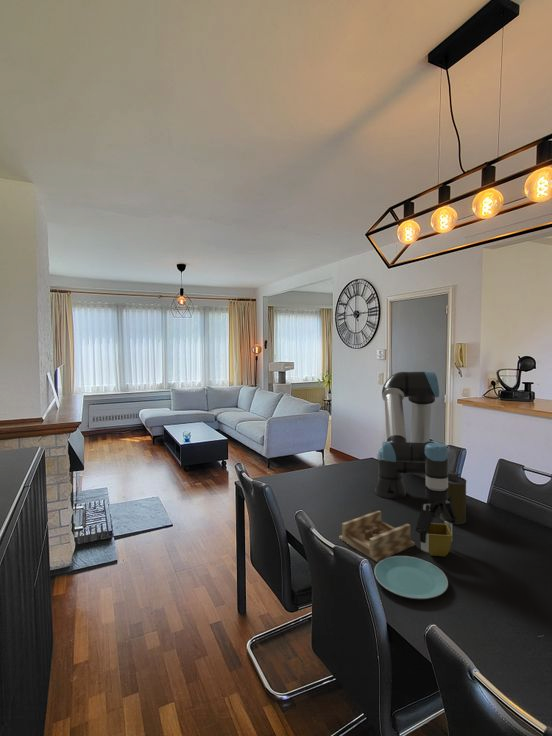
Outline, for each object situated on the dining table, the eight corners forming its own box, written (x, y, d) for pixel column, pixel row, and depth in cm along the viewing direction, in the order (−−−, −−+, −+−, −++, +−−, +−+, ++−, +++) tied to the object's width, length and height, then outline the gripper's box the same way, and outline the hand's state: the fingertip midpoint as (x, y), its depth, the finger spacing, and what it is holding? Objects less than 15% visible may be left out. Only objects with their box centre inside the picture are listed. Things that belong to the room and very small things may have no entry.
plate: (441, 616, 108) (441, 606, 108) (364, 591, 120) (364, 582, 120) (453, 575, 127) (452, 566, 127) (385, 557, 139) (385, 549, 139)
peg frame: (375, 524, 163) (374, 508, 162) (414, 545, 146) (414, 527, 146) (338, 538, 152) (338, 521, 152) (377, 562, 135) (376, 542, 135)
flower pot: (452, 560, 135) (452, 535, 134) (426, 558, 137) (426, 533, 136) (446, 547, 144) (446, 524, 143) (422, 545, 145) (421, 522, 145)
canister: (469, 518, 167) (469, 472, 165) (461, 526, 159) (461, 479, 158) (443, 511, 174) (443, 467, 173) (435, 519, 166) (434, 473, 165)
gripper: (448, 477, 149) (448, 531, 150) (404, 491, 135) (405, 550, 136) (466, 483, 142) (467, 539, 143) (423, 498, 129) (423, 560, 130)
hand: (436, 545), depth 140 cm, fingers open, 13 cm apart
